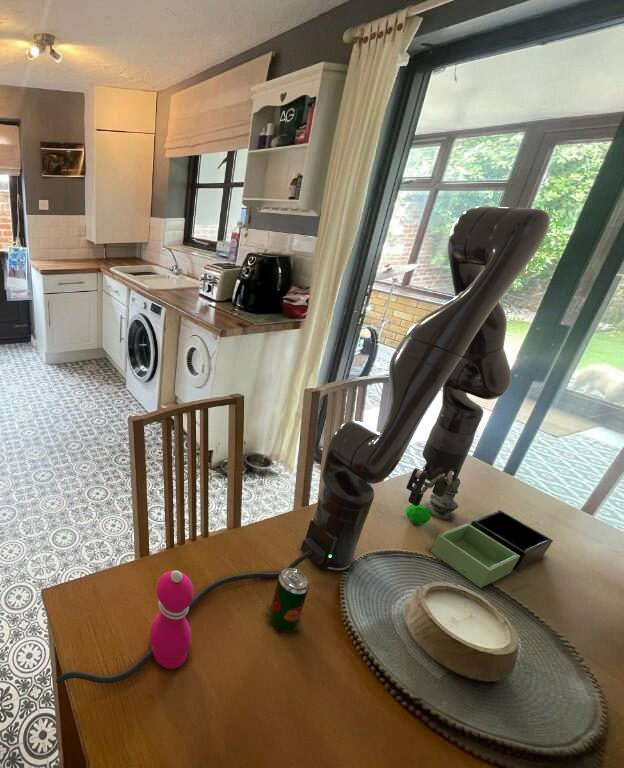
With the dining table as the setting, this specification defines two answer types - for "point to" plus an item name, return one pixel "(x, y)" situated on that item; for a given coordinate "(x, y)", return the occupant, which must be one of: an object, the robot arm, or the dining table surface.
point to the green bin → (475, 554)
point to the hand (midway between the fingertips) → (425, 499)
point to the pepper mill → (172, 620)
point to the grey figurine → (444, 501)
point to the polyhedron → (418, 514)
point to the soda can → (288, 600)
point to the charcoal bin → (514, 536)
